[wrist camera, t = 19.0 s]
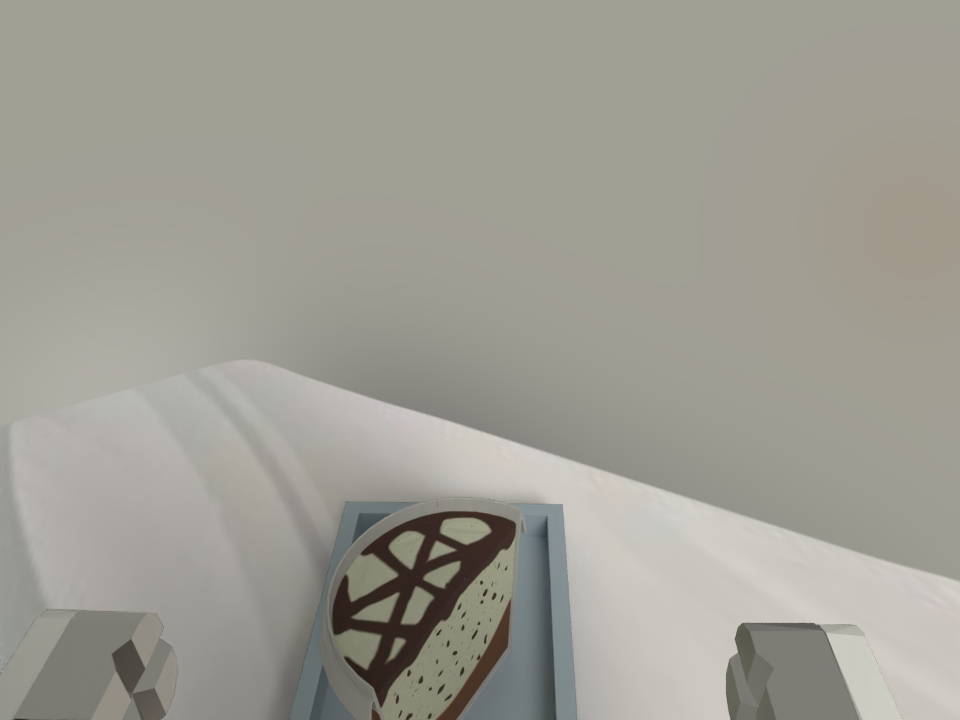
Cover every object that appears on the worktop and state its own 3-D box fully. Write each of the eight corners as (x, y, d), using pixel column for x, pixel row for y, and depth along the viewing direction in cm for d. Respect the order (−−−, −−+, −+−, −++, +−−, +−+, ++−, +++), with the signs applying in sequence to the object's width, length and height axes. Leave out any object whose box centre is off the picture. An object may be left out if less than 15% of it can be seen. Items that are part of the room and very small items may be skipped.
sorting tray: (268, 862, 33) (257, 837, 32) (350, 528, 50) (346, 501, 49) (583, 874, 33) (586, 848, 31) (561, 531, 49) (562, 504, 48)
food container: (437, 582, 45) (427, 458, 40) (525, 628, 43) (527, 502, 37) (290, 752, 37) (251, 625, 31) (387, 825, 34) (362, 699, 28)
